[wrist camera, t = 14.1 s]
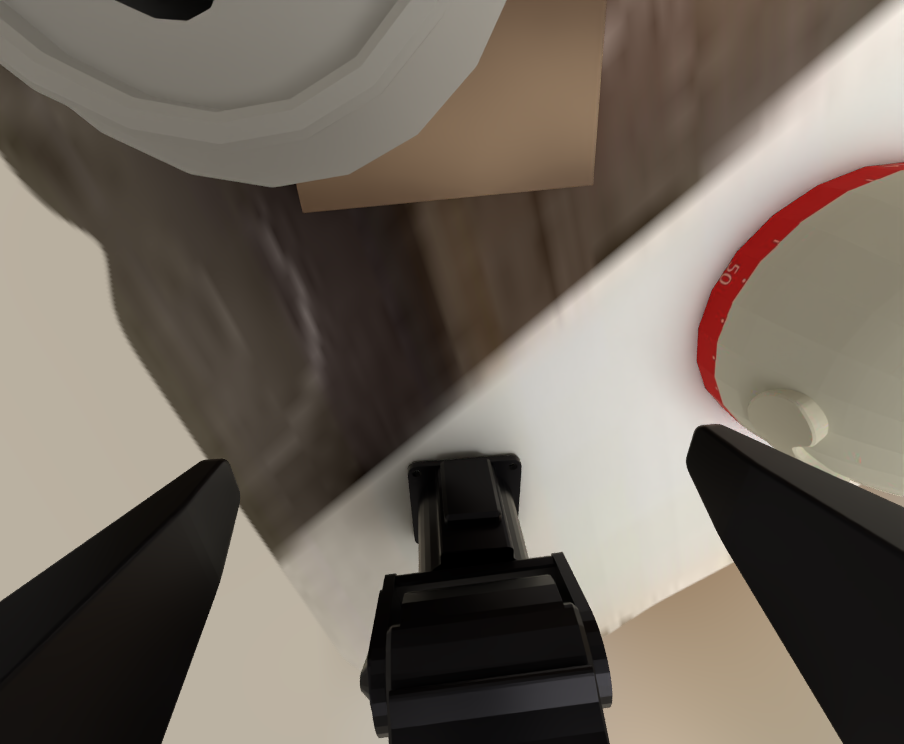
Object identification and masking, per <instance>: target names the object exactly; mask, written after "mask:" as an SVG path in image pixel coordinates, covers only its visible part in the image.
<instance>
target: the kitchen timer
mask: <svg viewBox="0 0 904 744" xmlns="http://www.w3.org/2000/svg"><path fill="white" fill-rule="evenodd" d="M697 364H698V367H699V370H700V373H701V376H702V379H703V382H704V386H705V388H706V389H707V390H708V392H709V393H710V394H711V395H712V396H713V397H714V398H715V400H716V401H717V402H718V403H719V404H720V405H721V406H722V407H723V408H724V409H725V410H726V411H727V412H728V413H729V414H730V415H731V416H732V417H733V418H734V419H735V420H736V421H737V422H739V423H740V424H741V425H742V426H743V427H745V428H746V429H748V430H749V431H750V432H752V433H754V434H755V435H757V436H758V437H760V438H762V439H763V440H765V441H766V442H768V443H769V444H770V445H771V446H772V447H774V448H775V449H776V450H779V451H781V452H783V453H785V454H787V455H790V456H792V457H794V458H796V459H798V460H801V461H803V462H805V463H807V464H809V465H812V466H814V467H816V468H818V469H820V470H823V471H825V472H827V473H829V474H831V475H834V476H836V477H838V478H840V479H842V480H845V481H847V482H849V481H850V480H852V481H854V482H857V483H859V484H862V485H865V486H868V487H871V488H874V489H877V490H880V491H883V492H887V493H891V494H894V495H898V496H903V497H904V162H903V163H894V164H885V165H876V166H867V167H863V168H861V169H858V170H855V171H853V172H850V173H848V174H845V175H843V176H840V177H838V178H835V179H833V180H830V181H828V182H825V183H823V184H820V185H818V186H816V187H815V188H813V189H812V190H810V191H809V192H807V193H806V194H804V195H803V196H801V197H800V198H798V199H797V200H795V201H794V202H792V203H791V204H789V205H788V206H786V207H785V208H783V209H782V210H780V211H779V212H777V213H776V214H774V215H773V216H772V217H771V218H770V219H769V220H768V221H767V222H766V223H765V224H764V225H763V226H762V227H761V228H760V229H759V230H758V231H757V232H756V233H755V234H754V235H753V236H752V237H751V238H750V239H749V240H748V241H747V242H746V243H745V244H744V245H743V246H742V247H741V248H740V249H739V250H738V251H737V253H736V254H735V256H734V257H733V259H732V260H731V262H730V263H729V265H728V267H727V268H726V270H725V271H724V273H723V274H722V276H721V277H720V279H719V280H718V282H717V283H716V285H715V287H714V288H713V290H712V292H711V294H710V297H709V300H708V303H707V306H706V308H705V311H704V314H703V317H702V320H701V322H700V325H699V328H698V346H697Z"/></svg>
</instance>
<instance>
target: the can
mask: <svg viewBox="0 0 904 744" xmlns="http://www.w3.org/2000/svg"><path fill="white" fill-rule="evenodd" d="M505 2H506V0H0V64H1V65H2V66H4V67H5V68H6V69H7V70H9V71H10V72H11V73H13V74H14V75H15V76H16V77H18V78H19V79H20V80H22V81H23V82H24V83H25V84H27V85H28V86H29V87H31V88H32V89H33V90H35V91H37V92H39V93H41V94H43V95H45V96H47V97H49V98H51V99H54V100H56V101H58V102H60V103H62V104H64V105H66V106H68V107H69V108H71V109H72V110H73V111H74V112H76V113H77V114H78V115H80V116H81V117H82V118H83V119H85V120H86V121H87V122H88V123H90V124H91V125H92V126H94V127H95V128H96V129H97V130H99V131H100V132H101V133H103V134H105V135H107V136H110V137H112V138H114V139H116V140H118V141H120V142H122V143H125V144H127V145H129V146H131V147H133V148H135V149H137V150H139V151H142V152H144V153H146V154H148V155H150V156H152V157H154V158H157V159H159V160H161V161H163V162H165V163H167V164H169V165H172V166H174V167H176V168H178V169H180V170H182V171H184V172H187V173H189V174H192V175H198V176H204V177H211V178H217V179H223V180H229V181H235V182H242V183H248V184H254V185H260V186H266V187H279V186H285V185H291V184H296V183H302V182H308V181H314V180H320V179H326V178H331V177H337V176H343V175H349V174H351V173H352V172H354V171H356V170H358V169H359V168H361V167H363V166H364V165H366V164H368V163H370V162H371V161H373V160H375V159H377V158H378V157H380V156H382V155H383V154H385V153H387V152H389V151H390V150H392V149H394V148H395V147H397V146H399V145H401V144H402V143H404V142H406V141H408V140H409V139H411V138H413V137H414V136H416V135H418V134H419V132H420V131H421V130H422V129H423V128H424V127H425V125H426V124H427V123H428V122H429V121H430V120H431V118H432V117H433V116H434V115H435V114H436V113H437V112H438V110H439V109H440V108H441V107H442V106H443V105H444V103H445V102H446V101H447V100H448V99H449V98H450V96H451V95H452V94H453V93H454V92H455V91H456V89H457V88H458V87H459V86H460V85H461V84H462V82H463V81H464V80H465V79H466V78H467V77H468V76H469V74H470V73H471V72H472V71H473V70H474V69H475V67H476V66H477V64H478V62H479V60H480V58H481V56H482V53H483V51H484V49H485V47H486V44H487V42H488V40H489V38H490V36H491V33H492V31H493V29H494V27H495V25H496V22H497V20H498V18H499V16H500V14H501V11H502V9H503V7H504V5H505Z"/></svg>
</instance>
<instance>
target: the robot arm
mask: <svg viewBox="0 0 904 744" xmlns="http://www.w3.org/2000/svg"><path fill="white" fill-rule="evenodd" d="M512 463H515V464H514V465H510V464H512ZM686 465H687V469H688V472H689V474H690V476H691V478H692V480H693V482H694V484H695V486H696V489H697V491H698V493H699V495H700V497H701V499H702V501H703V503H704V506H705V508H706V510H707V512H708V514H709V516H710V518H711V520H712V523H713V525H714V527H715V529H716V531H717V533H718V535H719V537H720V539H721V540H722V542H723V544H724V546H725V547H726V549H727V551H728V553H729V554H730V556H731V558H732V559H733V561H734V563H735V564H736V566H737V568H738V569H739V571H740V573H741V574H742V576H743V578H744V579H745V581H746V583H747V584H748V586H749V587H750V589H751V591H752V593H753V594H754V596H755V598H756V599H757V601H758V603H759V604H760V606H761V608H762V609H763V611H764V613H765V614H766V616H767V618H768V619H769V621H770V623H771V624H772V626H773V627H774V629H775V631H776V632H777V634H778V636H779V638H780V639H781V641H782V643H783V644H784V646H785V647H786V649H787V651H788V653H789V654H790V656H791V658H792V659H793V661H794V663H795V664H796V666H797V667H798V669H799V671H800V673H801V674H802V676H803V677H804V679H805V681H806V683H807V684H808V686H809V688H810V689H811V691H812V693H813V694H814V696H815V698H816V699H817V701H818V703H819V704H820V706H821V708H822V709H823V711H824V713H825V714H826V716H827V718H828V719H829V721H830V722H831V724H832V726H833V728H834V729H835V731H836V732H837V734H838V736H839V738H840V739H841V741H842V742H843V744H904V507H902V506H900V505H898V504H895V503H893V502H891V501H888V500H887V499H884V498H882V497H880V496H878V495H875V494H873V493H871V492H869V491H867V490H864V489H862V488H860V487H858V486H856V485H854V484H851V483H849V482H847V481H845V480H842V479H840V478H838V477H836V476H834V475H831V474H829V473H827V472H825V471H823V470H820V469H818V468H816V467H814V466H812V465H809V464H807V463H805V462H803V461H801V460H798V459H796V458H794V457H792V456H790V455H787V454H785V453H783V452H781V451H779V450H776V449H774V448H772V447H770V446H768V445H765V444H763V443H761V442H759V441H757V440H754V439H752V438H750V437H748V436H745V435H743V434H741V433H739V432H737V431H734V430H732V429H730V428H728V427H726V426H723V425H720V424H710V425H700V426H698V427H697V428H696V429H695V431H694V434H693V437H692V440H691V444H690V447H689V450H688V453H687V457H686ZM521 467H522V466H521V462H520V459H519V458H518V457H517V456H514V455H510V456H496V457H482V458H468V459H454V460H440V461H426V462H415V463H412V464H410V465H409V467H408V480H409V489H410V499H411V508H412V518H413V527H414V537H415V542H416V543H418V544H419V573H411V574H404V575H397V574H388V575H385V578H384V583H383V589H382V590H380V593H379V598H378V603H377V609H376V614H375V619H374V624H373V630H372V635H371V640H370V646H369V651H368V655H367V658H366V661H365V663H364V666H363V669H362V672H361V675H360V688H361V691H362V692H363V693H364V695H365V696H366V697H367V698H368V699H369V700H370V705H371V710H372V715H373V721H374V727H375V731H376V734H377V736H378V737H379V738H384V737H389V744H610V743H609V738H608V733H607V728H606V724H605V718H604V713H603V708H609V707H611V704H612V684H611V677H610V671H609V665H608V660H607V657H606V652H605V648H604V644H603V641H602V637H601V634H600V631H599V628H598V625H597V623H596V620H595V617H594V615H593V613H592V611H591V609H590V607H589V605H588V602H587V600H586V598H585V596H584V594H583V592H582V590H581V588H580V586H579V584H578V582H577V580H576V578H575V576H574V574H573V572H572V570H571V568H570V566H569V564H568V562H567V560H566V558H565V556H564V554H563V552H560V553H552V554H551V556H544V557H536V558H528V554H527V550H526V546H525V542H524V538H523V534H522V531H521V527H520V523H519V519H518V512H519V497H520V482H521ZM415 470H419V472H414V471H415ZM239 503H240V491H239V488H238V485H237V483H236V480H235V477H234V474H233V472H232V469H231V466H230V464H229V462H228V461H227V460H225V459H210V460H203V461H200V462H199V463H197V464H196V465H194V466H193V467H192V468H190V469H189V470H187V471H186V472H184V473H183V474H182V475H180V476H179V477H177V478H176V479H175V480H173V481H172V482H170V483H169V484H167V485H166V486H165V487H163V488H162V489H160V490H159V491H157V492H156V493H155V494H153V495H152V496H150V497H149V498H147V499H146V500H145V501H143V502H142V503H141V504H139V505H138V506H136V507H135V508H133V509H132V510H130V511H129V512H127V513H126V514H125V515H123V516H122V517H120V518H119V519H118V520H116V521H115V522H113V523H112V524H110V525H109V526H107V527H106V528H105V529H103V530H102V531H100V532H99V533H97V534H96V535H95V536H93V537H92V538H90V539H89V540H87V541H86V542H85V543H83V544H82V545H80V546H79V547H77V548H76V549H74V550H73V551H72V552H70V553H69V554H67V555H66V556H64V557H63V558H62V559H60V560H59V561H57V562H56V563H55V564H53V565H52V566H50V567H49V568H47V569H46V570H45V571H43V572H42V573H40V574H39V575H38V576H36V577H35V578H33V579H32V580H30V581H29V582H27V583H26V584H24V585H23V586H22V587H20V588H19V589H17V590H16V591H15V592H13V593H12V594H10V595H9V596H7V597H6V598H4V599H3V600H2V601H1V602H0V744H162V741H163V738H164V735H165V732H166V730H167V727H168V724H169V721H170V719H171V716H172V713H173V711H174V708H175V705H176V702H177V700H178V697H179V694H180V691H181V689H182V686H183V683H184V680H185V678H186V675H187V672H188V669H189V666H190V664H191V661H192V658H193V656H194V653H195V650H196V647H197V644H198V642H199V639H200V636H201V634H202V631H203V628H204V625H205V623H206V620H207V617H208V614H209V611H210V609H211V606H212V603H213V600H214V598H215V595H216V592H217V589H218V586H219V583H220V580H221V576H222V573H223V569H224V565H225V561H226V557H227V553H228V549H229V545H230V540H231V537H232V532H233V528H234V524H235V520H236V516H237V512H238V508H239Z"/></svg>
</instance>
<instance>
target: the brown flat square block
mask: <svg viewBox="0 0 904 744" xmlns="http://www.w3.org/2000/svg"><path fill="white" fill-rule="evenodd" d="M606 4H607V0H506V2H505V5H504V7H503V9H502V11H501V14H500V16H499V18H498V20H497V22H496V25H495V27H494V29H493V31H492V33H491V36H490V38H489V40H488V42H487V44H486V47H485V49H484V51H483V53H482V56H481V58H480V60H479V62H478V64H477V66H476V67H475V69H474V70H473V71H472V72H471V73H470V74H469V76H468V77H467V78H466V79H465V80H464V81H463V82H462V84H461V85H460V86H459V87H458V88H457V89H456V91H455V92H454V93H453V94H452V95H451V96H450V98H449V99H448V100H447V101H446V102H445V103H444V105H443V106H442V107H441V108H440V109H439V110H438V112H437V113H436V114H435V115H434V116H433V117H432V118H431V120H430V121H429V122H428V123H427V124H426V125H425V127H424V128H423V129H422V130H421V131H420V132H419V134H418V135H416V136H414V137H413V138H411V139H409V140H408V141H406V142H404V143H402V144H401V145H399V146H397V147H395V148H394V149H392V150H390V151H389V152H387V153H385V154H383V155H382V156H380V157H378V158H377V159H375V160H373V161H371V162H370V163H368V164H366V165H364V166H363V167H361V168H359V169H358V170H356V171H354V172H352V173H351V174H349V175H343V176H337V177H331V178H326V179H320V180H314V181H308V182H302V183H296V186H297V190H298V194H299V199H300V203H301V207H302V211H303V213H308V212H318V211H329V210H339V209H350V208H360V207H370V206H381V205H391V204H401V203H412V202H422V201H432V200H443V199H453V198H463V197H474V196H484V195H494V194H505V193H515V192H526V191H536V190H546V189H557V188H567V187H577V186H588V185H593V177H594V164H595V151H596V137H597V124H598V111H599V97H600V84H601V71H602V57H603V44H604V31H605V17H606Z"/></svg>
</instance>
